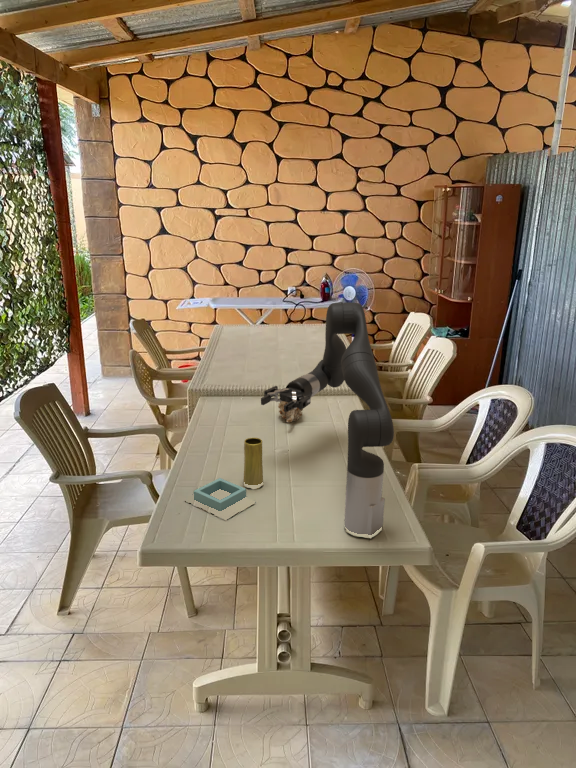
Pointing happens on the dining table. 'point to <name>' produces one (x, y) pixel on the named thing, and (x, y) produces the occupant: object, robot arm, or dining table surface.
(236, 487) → the dock
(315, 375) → the robot arm
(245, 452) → the vase
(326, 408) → the dining table surface
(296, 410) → the pine cone
